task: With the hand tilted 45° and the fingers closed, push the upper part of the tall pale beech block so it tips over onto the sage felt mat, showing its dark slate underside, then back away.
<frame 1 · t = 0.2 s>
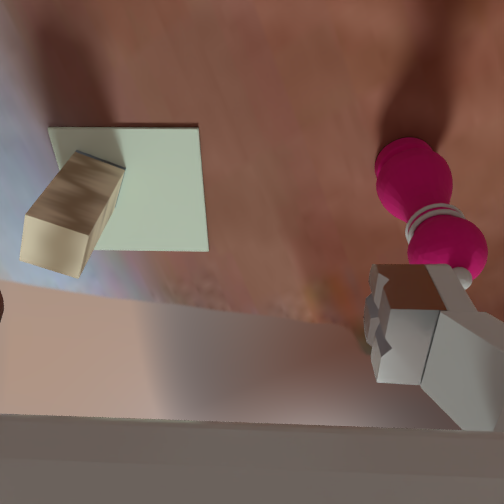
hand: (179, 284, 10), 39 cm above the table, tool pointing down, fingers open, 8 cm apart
mat: (135, 193, 54), on the table
block: (96, 179, 53), resting on mat
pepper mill: (403, 163, 51), on the table
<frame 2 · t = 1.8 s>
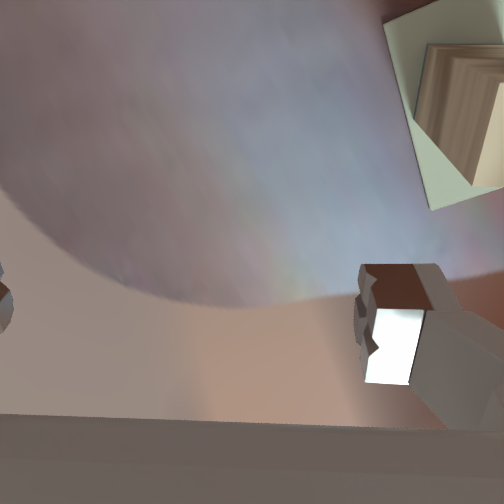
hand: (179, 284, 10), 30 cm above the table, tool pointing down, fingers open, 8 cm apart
block: (456, 83, 35), resting on mat
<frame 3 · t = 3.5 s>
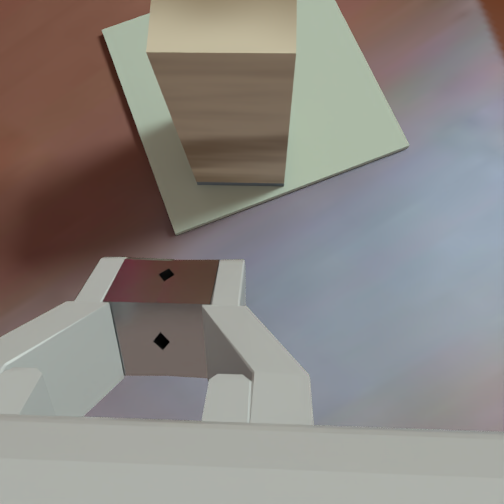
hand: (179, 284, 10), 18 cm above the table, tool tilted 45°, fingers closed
mat: (249, 88, 32), on the table
block: (242, 145, 30), resting on mat
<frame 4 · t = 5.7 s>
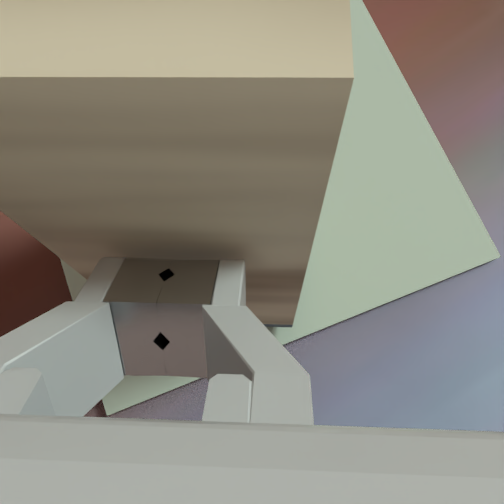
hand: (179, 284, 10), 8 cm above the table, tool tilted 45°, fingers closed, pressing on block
mat: (233, 156, 20), on the table
block: (220, 255, 18), point 1 cm above the table, tilted 7°, touching gripper, mat
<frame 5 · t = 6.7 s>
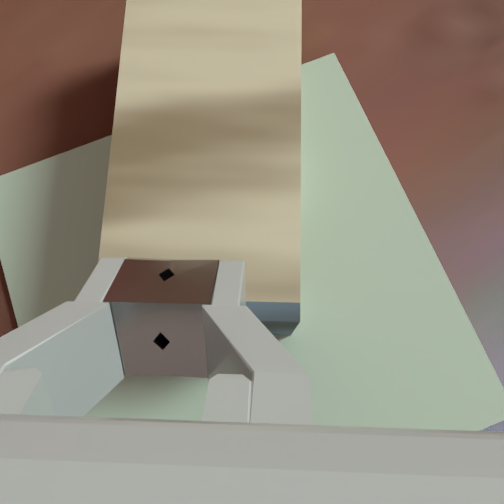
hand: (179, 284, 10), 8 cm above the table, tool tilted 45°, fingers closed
mat: (227, 291, 18), on the table
block: (208, 327, 15), point 3 cm above the table, tilted 90°, touching mat
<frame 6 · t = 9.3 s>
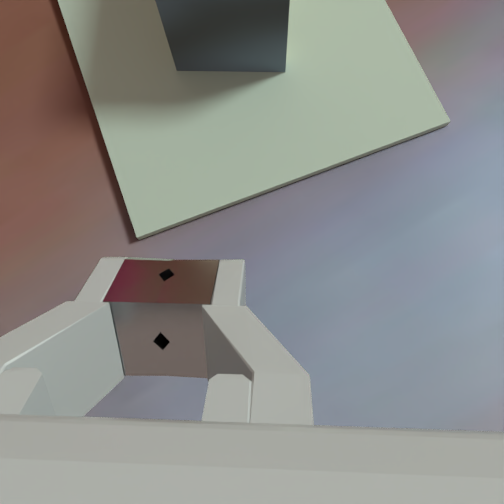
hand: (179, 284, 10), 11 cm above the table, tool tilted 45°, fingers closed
mat: (238, 48, 24), on the table
block: (226, 33, 21), point 3 cm above the table, tilted 90°, touching mat
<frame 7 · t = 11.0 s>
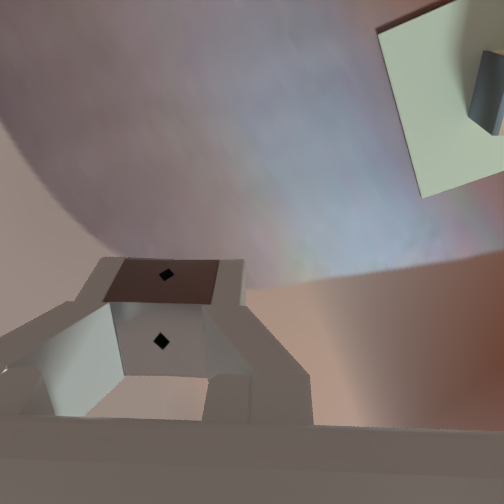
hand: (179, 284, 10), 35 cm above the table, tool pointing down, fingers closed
mat: (492, 87, 41), on the table
block: (487, 92, 38), point 3 cm above the table, tilted 90°, touching mat
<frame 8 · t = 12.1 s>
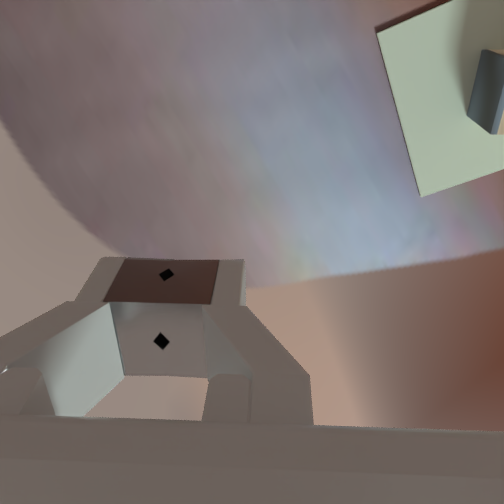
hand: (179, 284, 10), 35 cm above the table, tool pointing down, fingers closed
mat: (490, 86, 41), on the table
block: (486, 90, 38), point 3 cm above the table, tilted 90°, touching mat
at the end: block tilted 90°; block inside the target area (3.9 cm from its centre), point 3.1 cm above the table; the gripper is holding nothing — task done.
